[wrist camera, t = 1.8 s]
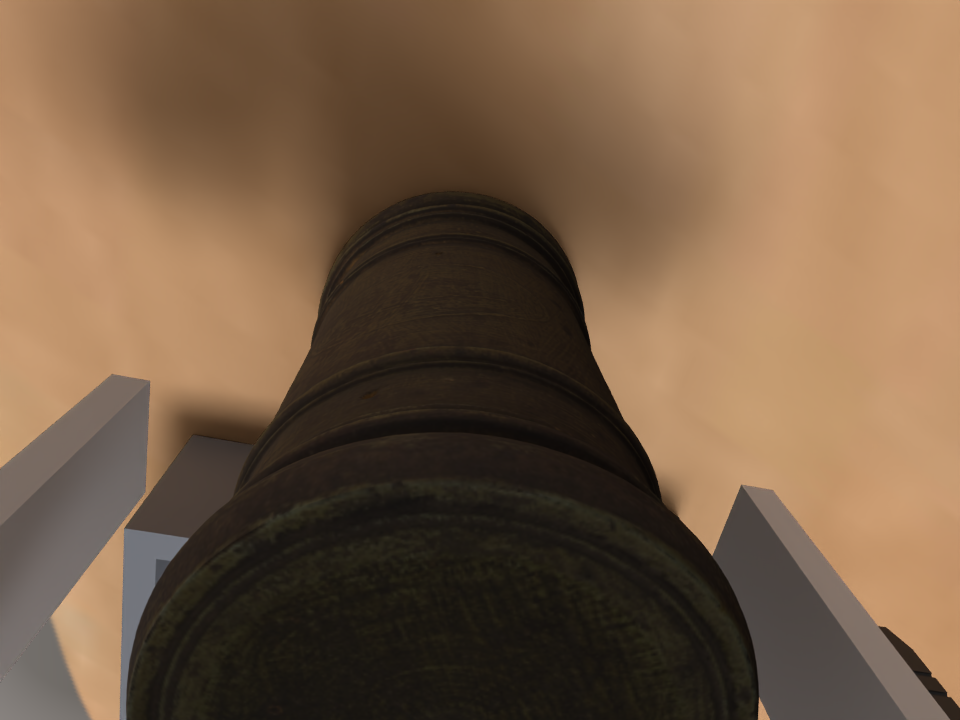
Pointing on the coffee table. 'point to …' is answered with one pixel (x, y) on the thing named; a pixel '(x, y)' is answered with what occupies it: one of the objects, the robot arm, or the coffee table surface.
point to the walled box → (173, 525)
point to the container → (445, 515)
